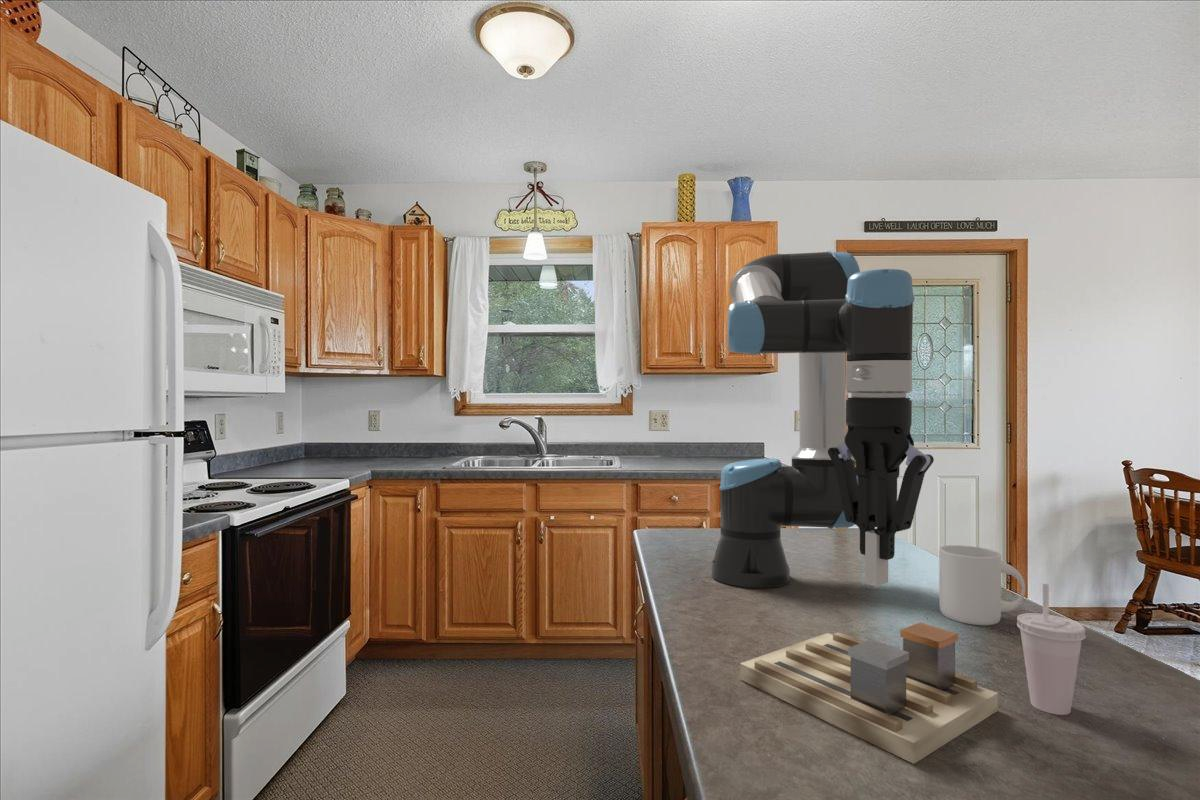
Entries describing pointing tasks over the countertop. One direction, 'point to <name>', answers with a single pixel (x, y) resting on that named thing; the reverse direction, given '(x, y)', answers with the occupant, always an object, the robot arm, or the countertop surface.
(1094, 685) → the countertop surface
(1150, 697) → the countertop surface
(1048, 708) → the smoothie
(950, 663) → the block
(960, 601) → the mug
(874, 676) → the fader
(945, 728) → the beige flat board
